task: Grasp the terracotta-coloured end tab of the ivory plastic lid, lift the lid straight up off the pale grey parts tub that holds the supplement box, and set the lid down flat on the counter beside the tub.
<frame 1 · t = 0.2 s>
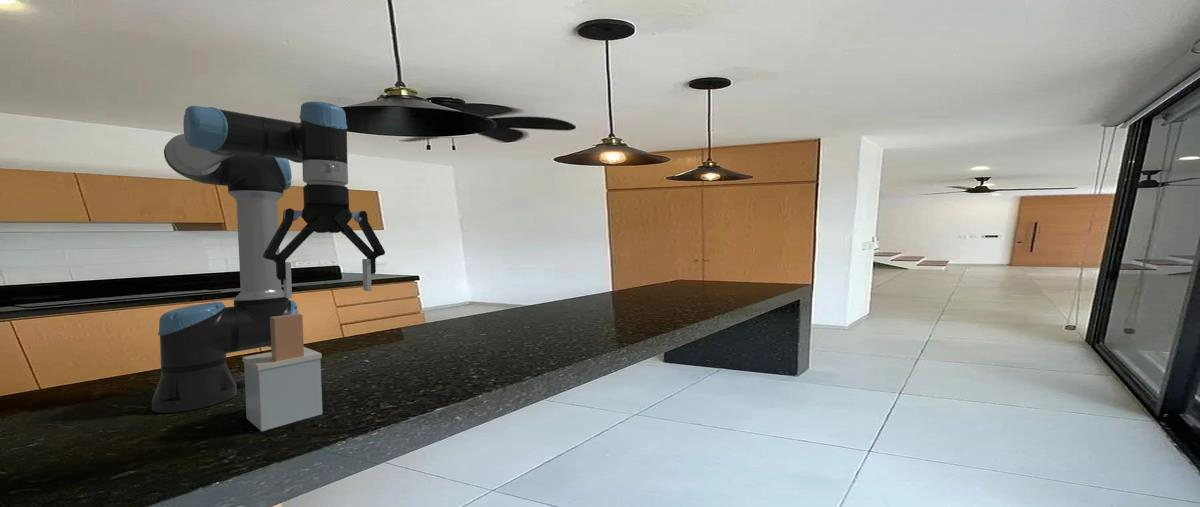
hand: (329, 293, 86), 28 cm above the countertop, fingers open, 13 cm apart
supplement box: (284, 417, 96), resting in tub
tub: (284, 416, 96), on the countertop
lid: (282, 359, 96), point 12 cm above the countertop, touching tub
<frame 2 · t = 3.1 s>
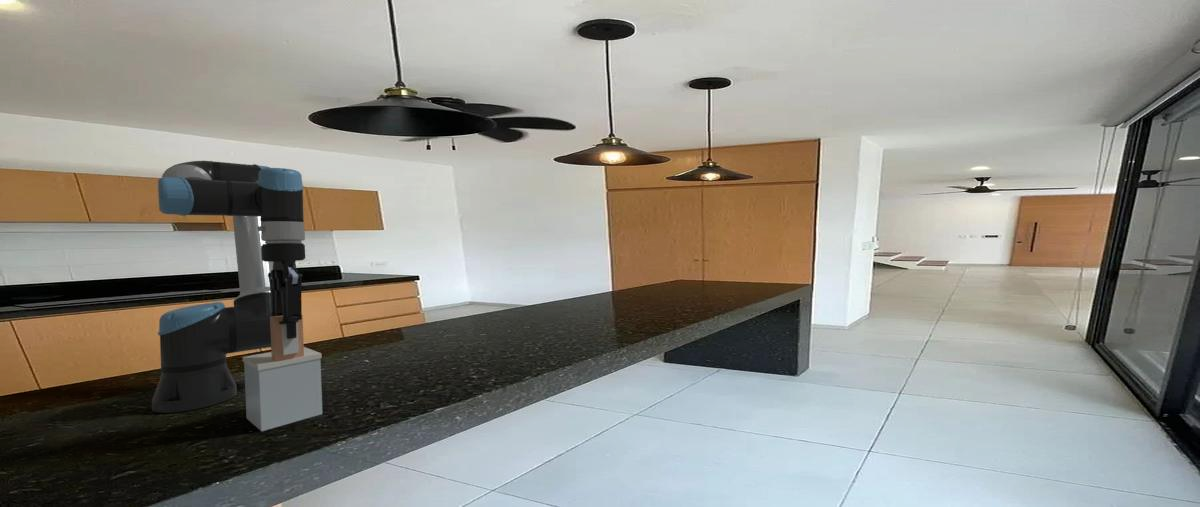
hand: (287, 352, 93), 15 cm above the countertop, fingers closed on lid, 3 cm apart
lid: (282, 359, 96), point 12 cm above the countertop, touching gripper, tub
everything else where it was.
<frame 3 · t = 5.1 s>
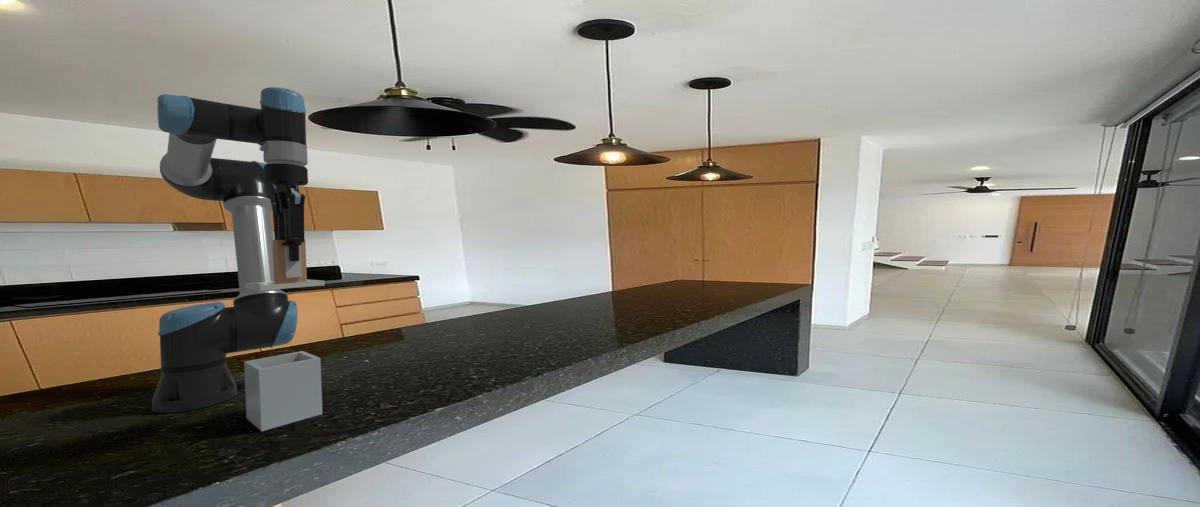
hand: (290, 276, 92), 31 cm above the countertop, fingers closed on lid, 3 cm apart
lid: (285, 286, 94), point 29 cm above the countertop, touching gripper
everything else where it was.
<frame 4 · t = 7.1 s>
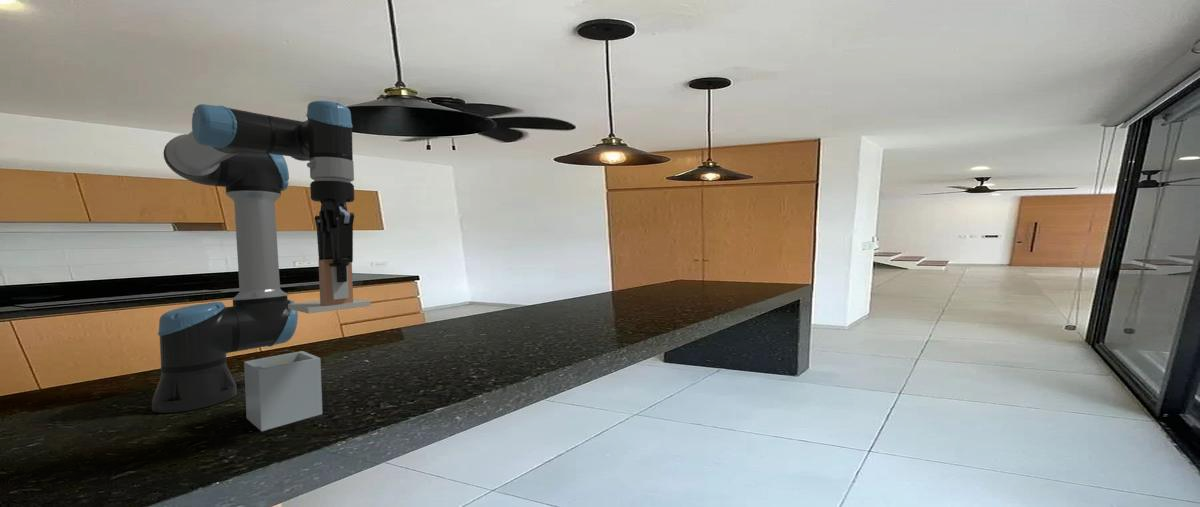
hand: (336, 297, 88), 27 cm above the countertop, fingers closed on lid, 3 cm apart
lid: (329, 307, 91), point 24 cm above the countertop, touching gripper
everything else where it was.
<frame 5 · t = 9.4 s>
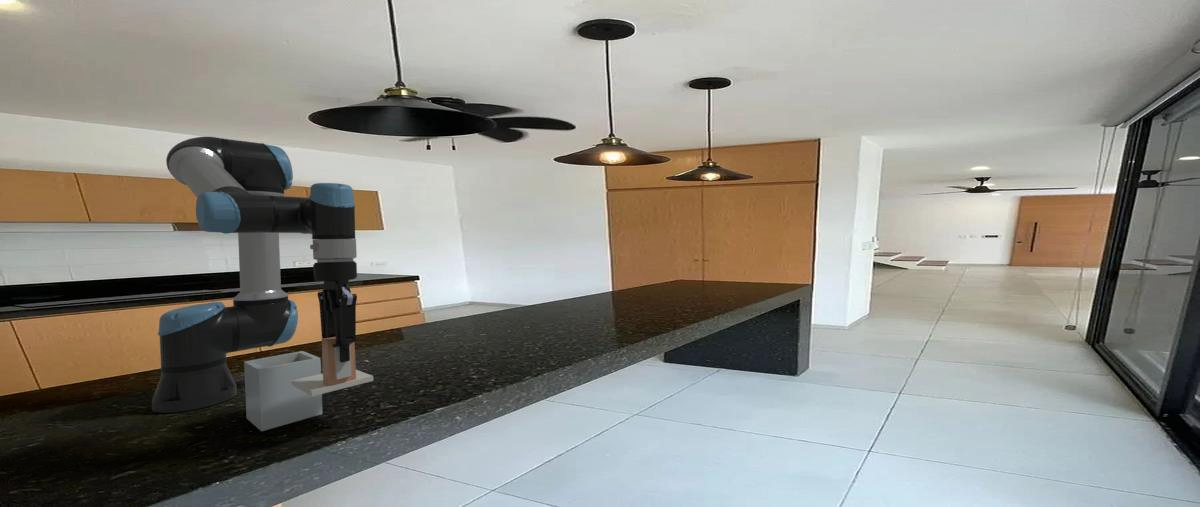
hand: (339, 375, 89), 11 cm above the countertop, fingers closed on lid, 3 cm apart
lid: (332, 383, 91), point 9 cm above the countertop, touching gripper
everything else where it was.
when the fingers open (4 cm above the countertop, at t = 11.2 s): lid drops 2 cm, on the countertop.
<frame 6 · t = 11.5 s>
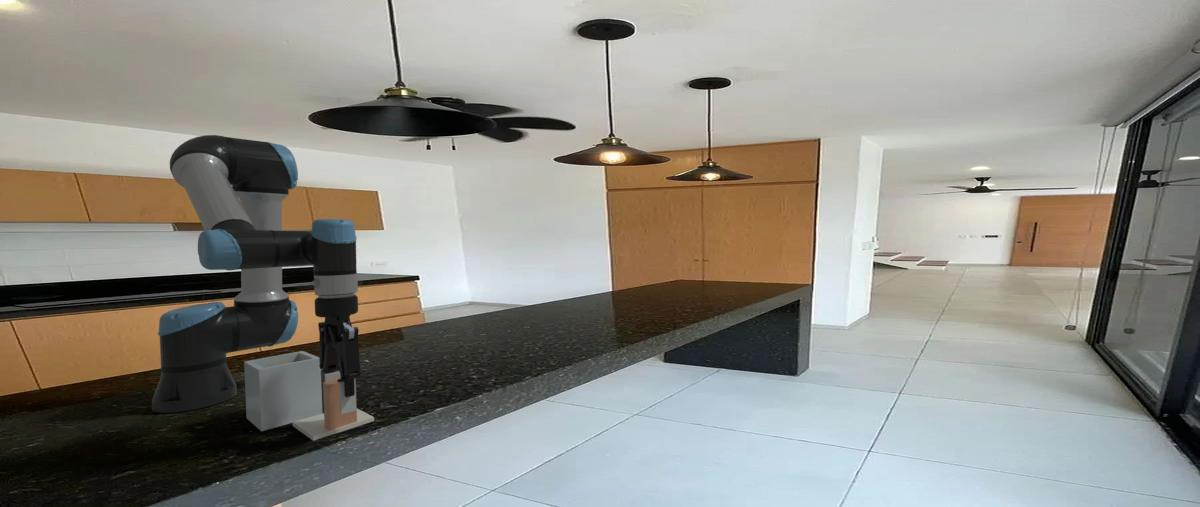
hand: (340, 407, 89), 4 cm above the countertop, fingers open, 7 cm apart
lid: (333, 424, 92), on the countertop
everything else where it was.
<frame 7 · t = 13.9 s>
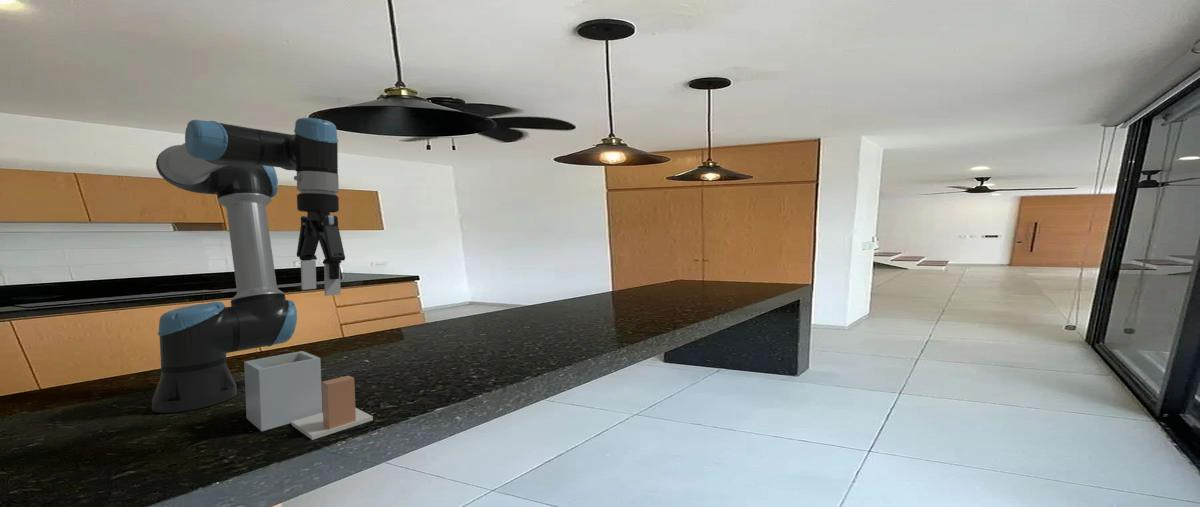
hand: (320, 292, 95), 27 cm above the countertop, fingers open, 13 cm apart
nothing on the countertop moved.
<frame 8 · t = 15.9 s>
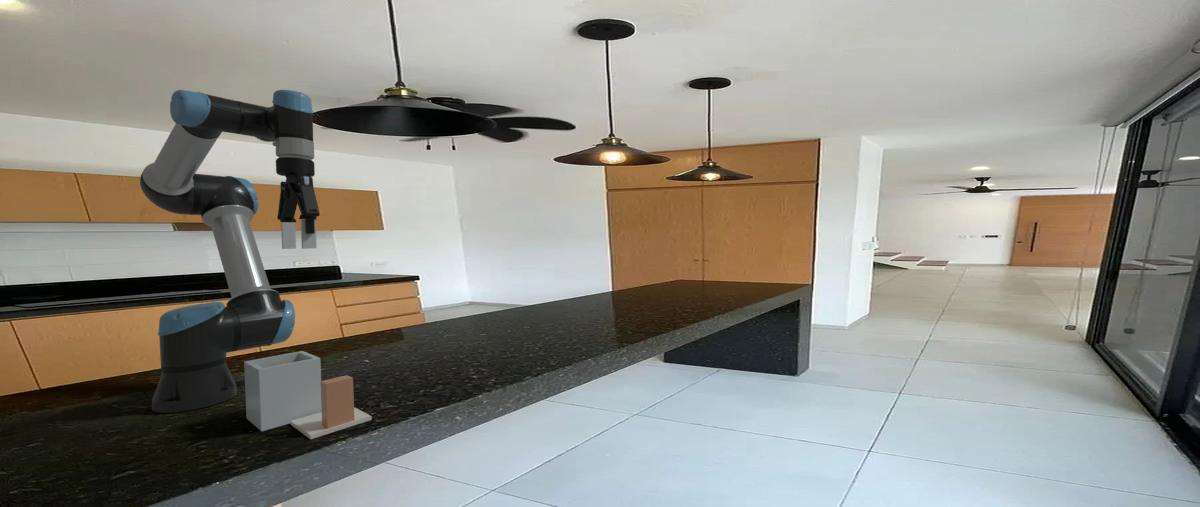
hand: (298, 248, 104), 37 cm above the countertop, fingers open, 13 cm apart
at the end: lid inside the target area (2.0 cm from its centre), on the countertop; lid tilted 0°; lid touching countertop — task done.
